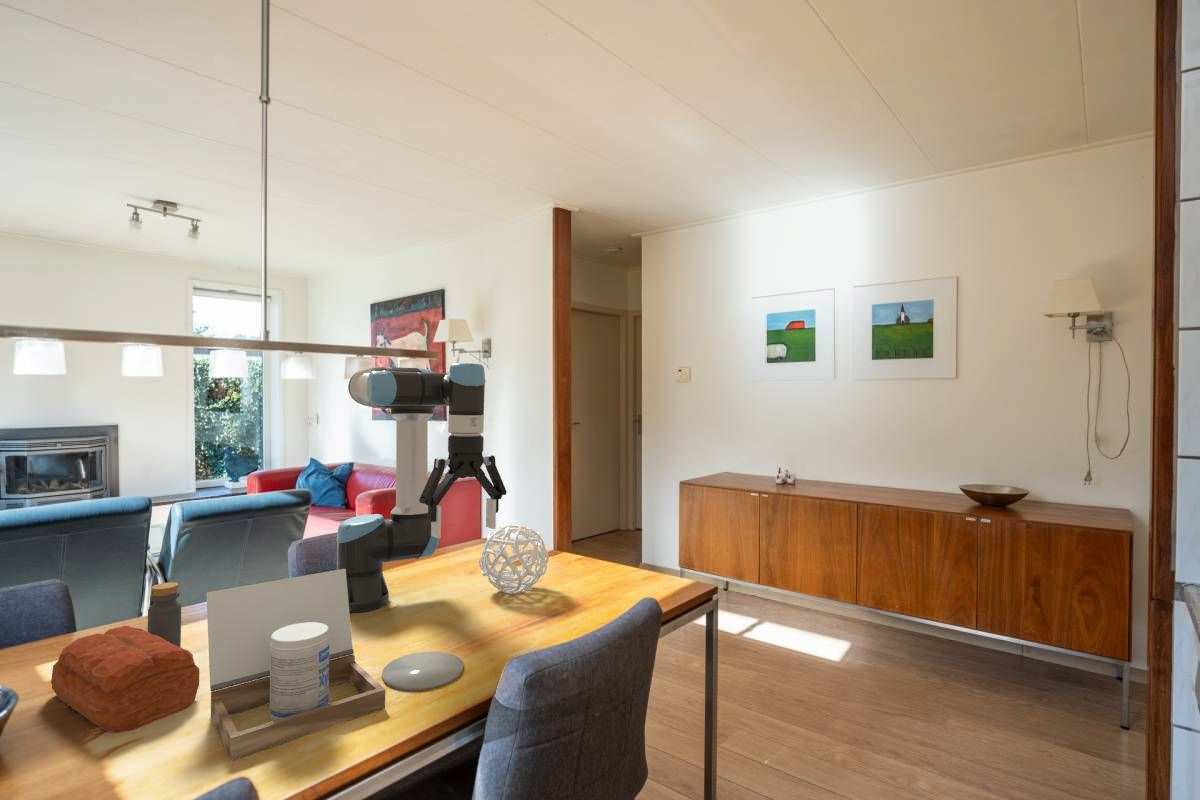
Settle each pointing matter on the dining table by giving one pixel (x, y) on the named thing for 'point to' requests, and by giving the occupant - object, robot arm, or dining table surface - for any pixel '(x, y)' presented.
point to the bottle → (165, 613)
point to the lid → (272, 622)
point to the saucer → (422, 671)
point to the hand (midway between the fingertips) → (464, 532)
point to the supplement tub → (299, 669)
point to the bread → (125, 678)
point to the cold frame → (293, 725)
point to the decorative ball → (513, 558)
